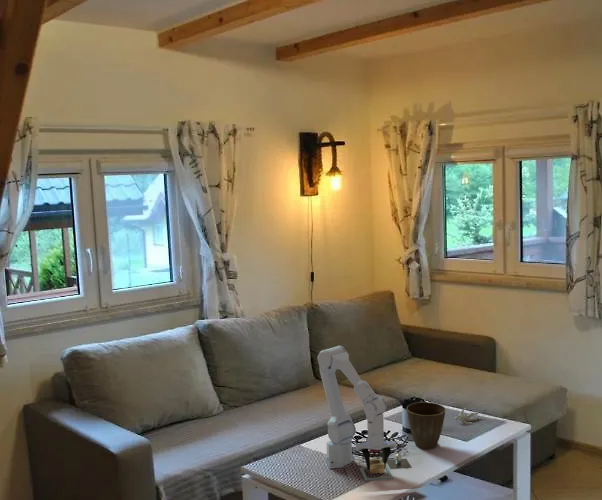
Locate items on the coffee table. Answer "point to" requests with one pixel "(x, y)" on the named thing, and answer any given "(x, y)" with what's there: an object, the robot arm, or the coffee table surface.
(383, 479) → the green square frame
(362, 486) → the coffee table surface
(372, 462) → the collar
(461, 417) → the soldier figure
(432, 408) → the plant pot
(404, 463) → the stake
